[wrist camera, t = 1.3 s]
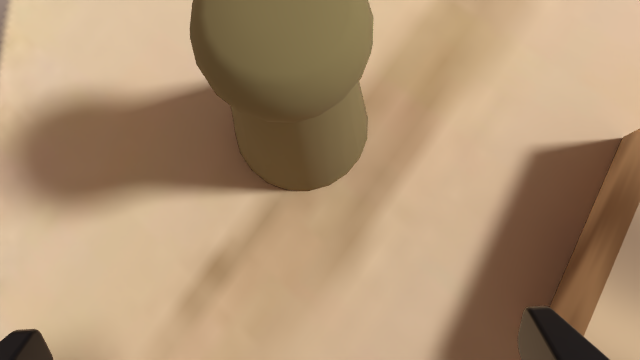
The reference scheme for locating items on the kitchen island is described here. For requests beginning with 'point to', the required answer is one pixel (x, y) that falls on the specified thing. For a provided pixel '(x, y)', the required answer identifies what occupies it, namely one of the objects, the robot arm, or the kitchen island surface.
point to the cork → (289, 82)
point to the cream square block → (608, 263)
